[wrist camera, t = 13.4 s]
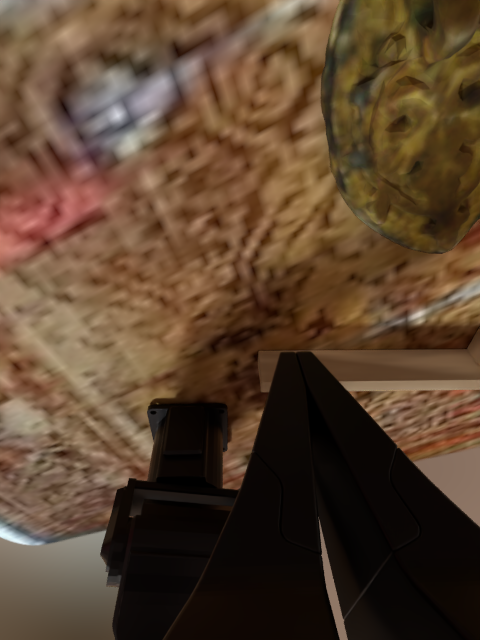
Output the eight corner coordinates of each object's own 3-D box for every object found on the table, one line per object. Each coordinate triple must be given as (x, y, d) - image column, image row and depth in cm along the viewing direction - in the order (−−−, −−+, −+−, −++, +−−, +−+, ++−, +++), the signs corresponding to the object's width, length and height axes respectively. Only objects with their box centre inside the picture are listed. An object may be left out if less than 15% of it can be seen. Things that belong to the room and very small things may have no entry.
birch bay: (474, 358, 27) (497, 389, 25) (257, 360, 27) (260, 392, 24) (773, -140, 12) (902, -180, 10) (296, -163, 12) (314, -212, 9)
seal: (514, 199, 21) (506, -179, 12) (587, 230, 17) (649, -279, 9) (364, 274, 23) (265, -14, 14) (402, 317, 19) (298, -39, 10)
